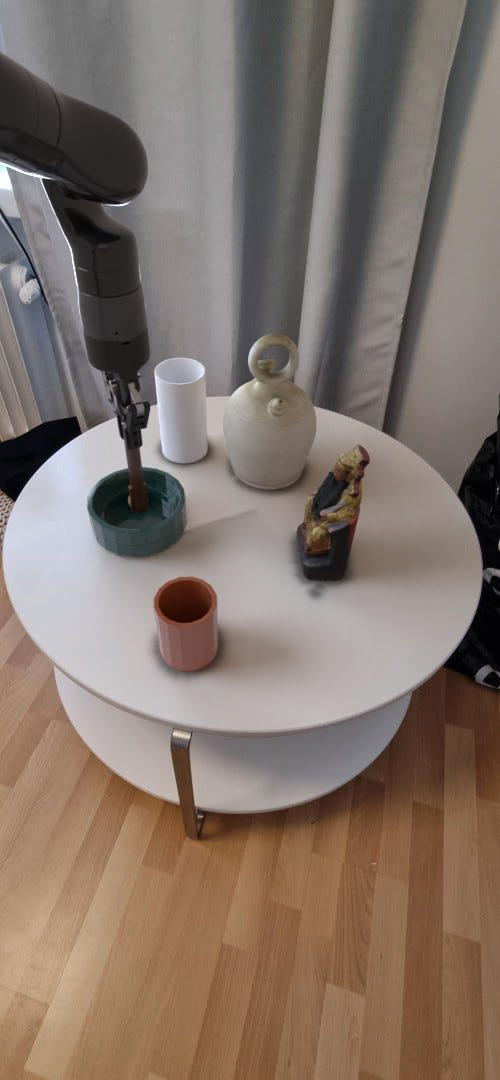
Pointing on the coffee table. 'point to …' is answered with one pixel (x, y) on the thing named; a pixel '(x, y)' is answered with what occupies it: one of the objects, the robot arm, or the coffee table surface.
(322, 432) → the coffee table surface
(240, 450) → the jug
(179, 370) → the cup
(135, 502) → the stick
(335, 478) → the statue
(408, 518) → the coffee table surface
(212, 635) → the crock
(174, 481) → the bowl
